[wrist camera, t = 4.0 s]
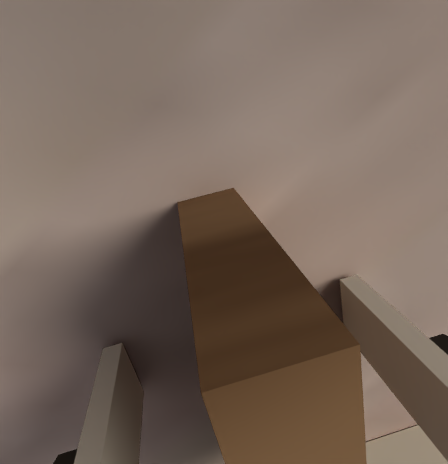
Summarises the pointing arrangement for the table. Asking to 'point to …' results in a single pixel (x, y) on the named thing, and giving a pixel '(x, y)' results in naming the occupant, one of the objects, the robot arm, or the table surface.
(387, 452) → the carcass
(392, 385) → the robot arm
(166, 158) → the table surface
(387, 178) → the table surface
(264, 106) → the table surface
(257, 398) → the door
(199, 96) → the table surface
